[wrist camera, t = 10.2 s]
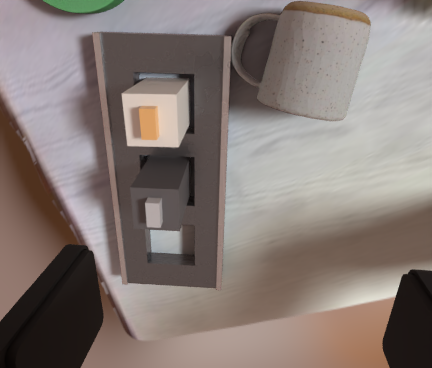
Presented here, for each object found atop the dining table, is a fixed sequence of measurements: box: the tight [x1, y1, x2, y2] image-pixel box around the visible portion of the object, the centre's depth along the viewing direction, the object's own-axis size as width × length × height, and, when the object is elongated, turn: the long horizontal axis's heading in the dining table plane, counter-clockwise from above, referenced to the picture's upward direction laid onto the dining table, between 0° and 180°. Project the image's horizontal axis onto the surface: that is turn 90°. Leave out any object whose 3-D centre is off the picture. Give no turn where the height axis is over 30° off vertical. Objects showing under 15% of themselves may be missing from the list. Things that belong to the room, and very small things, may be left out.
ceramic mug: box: [231, 1, 371, 121], centre depth 28 cm, size 11×8×8 cm
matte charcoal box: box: [130, 155, 191, 231], centre depth 34 cm, size 4×4×9 cm
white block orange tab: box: [122, 78, 191, 147], centre depth 30 cm, size 4×4×9 cm
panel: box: [92, 32, 232, 290], centre depth 37 cm, size 12×28×2 cm, turn 179°
